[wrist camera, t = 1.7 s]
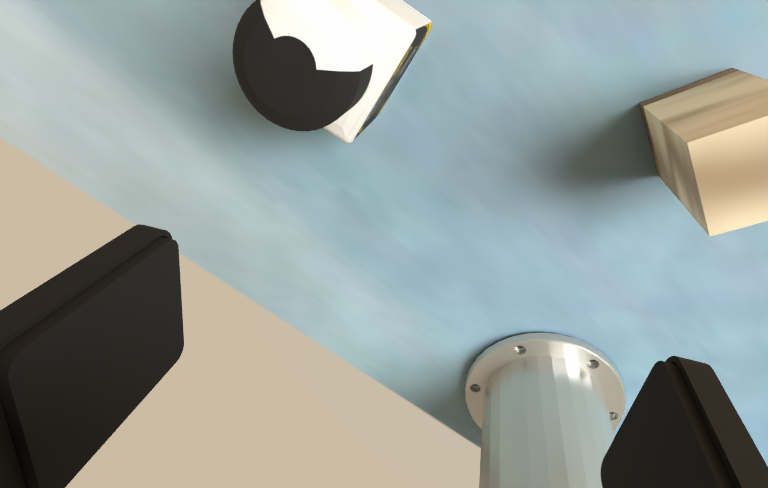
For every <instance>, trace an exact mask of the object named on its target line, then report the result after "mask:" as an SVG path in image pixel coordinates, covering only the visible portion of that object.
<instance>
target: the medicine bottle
mask: <svg viewBox="0 0 768 488" xmlns="http://www.w3.org/2000/svg"><path fill="white" fill-rule="evenodd" d="M431 27H432V23H431V21H430V20H429V19H428V18H426V17H425V16H424V15H422V14H421V13H419V12H418V11H417V10H415V9H414V8H412V7H411V6H410V5H408V4H407V3H405V2H404V1H403V0H256V1H255V2H253V3H252V4H251V6H250V7H249V8H248V9H247V10H246V11H245V13H244V14H243V16H242V17H241V20H240V22H239V24H238V26H237V29H236V32H235V36H234V42H233V63H234V68H235V73H236V76H237V79H238V82H239V84H240V86H241V89H242V91H243V92H244V94H245V96H246V97H247V99H248V100H249V102H250V103H251V104H252V106H253V107H254V108H255V109H256V110H257V111H258V112H259V113H260V114H261V115H263V116H264V117H265V118H266V119H268V120H270V121H271V122H273V123H274V124H277V125H279V126H281V127H284V128H287V129H290V130H296V131H311V130H317V129H320V128H324V129H326V130H327V131H329V132H330V133H332V134H333V135H335V136H336V137H338V138H339V139H340V140H342V141H343V142H346V143H351V142H352V141H353V140H354V139H355V138H356V137H357V136H358V135H359V134H360V133H361V132H362V131H363V130H364V129H365V128H366V127H367V126H368V125H369V124H370V123H371V122H372V121H373V120H374V119H375V118H376V117H377V116H378V115H379V113H380V111H381V110H382V108H383V106H384V105H385V103H386V101H387V100H388V98H389V97H390V95H391V93H392V92H393V90H394V88H395V87H396V85H397V83H398V82H399V80H400V79H401V77H402V75H403V74H404V72H405V70H406V69H407V67H408V65H409V64H410V62H411V61H412V59H413V57H414V56H415V54H416V52H417V51H418V49H419V47H420V46H421V44H422V43H423V41H424V39H425V38H426V36H427V34H428V33H429V31H430V29H431Z"/></svg>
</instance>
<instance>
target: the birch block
mask: <svg viewBox="0 0 768 488" xmlns="http://www.w3.org/2000/svg"><path fill="white" fill-rule="evenodd" d="M639 105H640V108H641V112H642V116H643V120H644V123H645V127H646V131H647V134H648V138H649V142H650V146H651V149H652V153H653V157H654V161H655V164H656V168H657V172H658V176H659V177H660V178H661V179H662V180H663V182H664V183H665V184H666V185H667V186H668V188H669V189H670V190H671V191H672V192H673V193H674V195H675V196H676V197H677V198H678V199H679V201H680V202H681V203H682V204H683V205H684V206H685V208H686V209H687V210H688V211H689V212H690V214H691V215H692V216H693V217H694V218H695V220H696V221H697V222H698V223H699V224H700V225H701V227H702V228H703V229H704V230H705V231H706V233H707V234H708V235H709V236H713V235H717V234H721V233H724V232H728V231H732V230H735V229H739V228H743V227H746V226H750V225H754V224H757V223H761V222H765V221H768V80H766V79H763V78H760V77H758V76H755V75H752V74H749V73H746V72H743V71H740V70H737V69H734V68H731V69H728V70H725V71H723V72H720V73H717V74H715V75H712V76H709V77H707V78H704V79H701V80H699V81H696V82H694V83H691V84H688V85H686V86H683V87H680V88H678V89H675V90H672V91H670V92H667V93H664V94H662V95H659V96H656V97H654V98H651V99H648V100H646V101H643V102H640V103H639Z"/></svg>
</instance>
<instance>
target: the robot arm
mask: <svg viewBox="0 0 768 488" xmlns="http://www.w3.org/2000/svg"><path fill="white" fill-rule="evenodd" d="M183 337H184V336H183V319H182V301H181V284H180V267H179V249H178V244H177V242H176V241H175V240H173V239H172V236H171V234H170V233H169V232H168V231H166V230H162V229H158V228H154V227H150V226H146V225H136V226H134V227H132V228H131V229H129V230H127V231H126V232H124V233H123V234H121V235H120V236H118V237H117V238H115V239H113V240H112V241H110V242H108V243H107V244H105V245H104V246H102V247H101V248H99V249H97V250H96V251H94V252H93V253H91V254H89V255H88V256H86V257H85V258H83V259H81V260H80V261H78V262H77V263H75V264H73V265H72V266H70V267H69V268H67V269H66V270H64V271H62V272H61V273H59V274H58V275H56V276H54V277H53V278H51V279H50V280H48V281H47V282H45V283H43V284H42V285H40V286H39V287H37V288H35V289H34V290H32V291H31V292H29V293H27V294H26V295H24V296H23V297H21V298H19V299H18V300H16V301H15V302H13V303H12V304H10V305H8V306H7V307H5V308H4V309H2V310H0V488H65V487H66V486H67V484H68V483H69V482H70V481H71V480H72V479H73V478H74V477H75V476H76V474H77V473H78V472H79V471H80V470H81V469H82V468H83V467H84V465H85V464H86V463H87V462H88V461H89V460H90V459H91V457H92V456H93V455H94V454H95V453H96V452H97V451H98V450H99V449H100V447H101V446H102V445H103V444H104V443H105V442H106V441H107V439H108V438H109V437H110V436H111V435H112V434H113V433H114V432H115V431H116V429H117V428H118V427H119V426H120V425H121V424H122V423H123V421H124V420H125V419H126V418H127V417H128V416H129V415H130V414H131V412H132V411H133V410H134V409H135V408H136V407H137V406H138V405H139V403H140V402H141V401H142V400H143V399H144V398H145V397H146V396H147V394H148V393H149V392H150V391H151V390H152V389H153V388H154V387H155V385H156V384H157V383H158V382H159V381H160V380H161V379H162V378H163V376H164V375H165V374H166V373H167V372H168V371H169V370H170V368H171V367H172V366H173V365H174V364H175V363H176V362H177V360H178V359H179V357H180V355H181V353H182V351H183V347H184V338H183ZM465 400H466V404H467V408H468V411H469V413H470V415H471V417H472V419H473V420H474V422H475V423H476V424H477V425H478V427H479V428H480V429H481V430H482V440H481V463H480V484H479V488H768V467H767V465H766V463H765V461H764V460H763V458H762V456H761V454H760V452H759V451H758V449H757V447H756V445H755V444H754V442H753V440H752V438H751V436H750V435H749V433H748V431H747V429H746V427H745V426H744V424H743V422H742V420H741V419H740V417H739V415H738V413H737V411H736V410H735V408H734V406H733V404H732V402H731V401H730V399H729V397H728V395H727V394H726V392H725V390H724V388H723V386H722V385H721V383H720V381H719V379H718V378H717V376H716V374H715V372H714V370H713V369H712V368H711V366H710V365H708V364H705V363H701V362H697V361H693V360H689V359H685V358H681V357H677V356H671V357H669V358H668V359H667V360H666V361H665V362H663V361H658V362H657V363H655V365H654V366H653V368H652V370H651V372H650V373H649V375H648V377H647V379H646V381H645V383H644V385H643V386H642V388H641V390H640V392H639V394H638V396H637V397H636V399H635V401H634V403H633V405H632V407H631V408H630V410H629V412H628V414H627V416H626V418H625V420H624V421H623V423H622V425H621V427H620V429H619V431H618V432H617V434H616V436H615V437H614V433H613V431H614V430H615V429H616V428H617V426H618V425H619V423H620V422H621V420H622V417H623V414H624V411H625V406H626V395H625V391H624V386H623V383H622V380H621V378H620V375H619V373H618V371H617V370H616V368H615V367H614V365H613V364H612V362H611V361H610V360H609V359H608V358H607V357H606V356H605V355H604V354H603V353H601V352H600V351H598V350H597V349H595V348H594V347H592V346H591V345H589V344H587V343H585V342H582V341H580V340H578V339H575V338H572V337H568V336H564V335H560V334H552V333H527V334H522V335H517V336H512V337H509V338H507V339H504V340H501V341H499V342H497V343H495V344H494V345H492V346H490V347H489V348H487V349H486V350H485V351H484V352H483V353H481V354H480V355H479V356H478V357H477V359H476V360H475V361H474V363H473V364H472V365H471V367H470V370H469V372H468V375H467V379H466V386H465Z"/></svg>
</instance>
